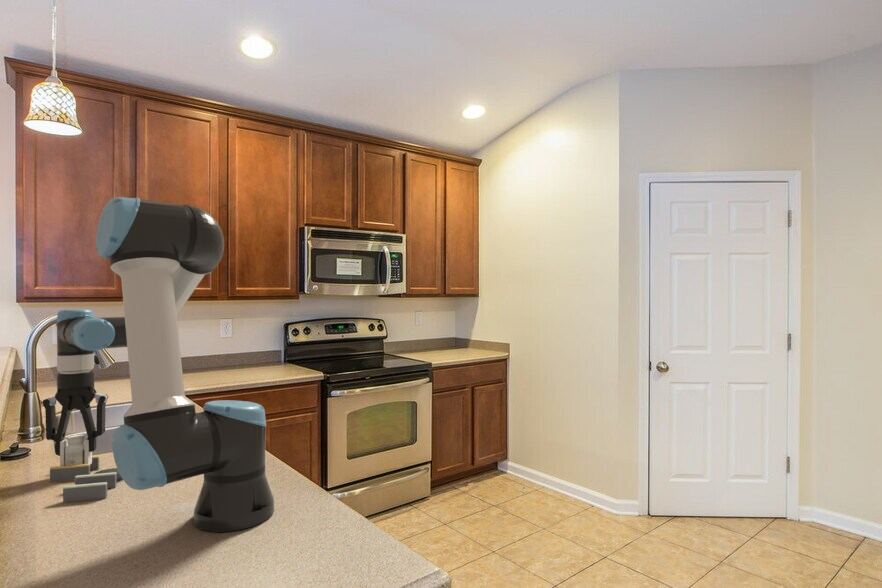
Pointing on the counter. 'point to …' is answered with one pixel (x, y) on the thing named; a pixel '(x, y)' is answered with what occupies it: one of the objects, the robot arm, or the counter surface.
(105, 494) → the slot sage
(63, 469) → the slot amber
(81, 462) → the pill bottle
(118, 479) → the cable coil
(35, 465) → the counter surface
